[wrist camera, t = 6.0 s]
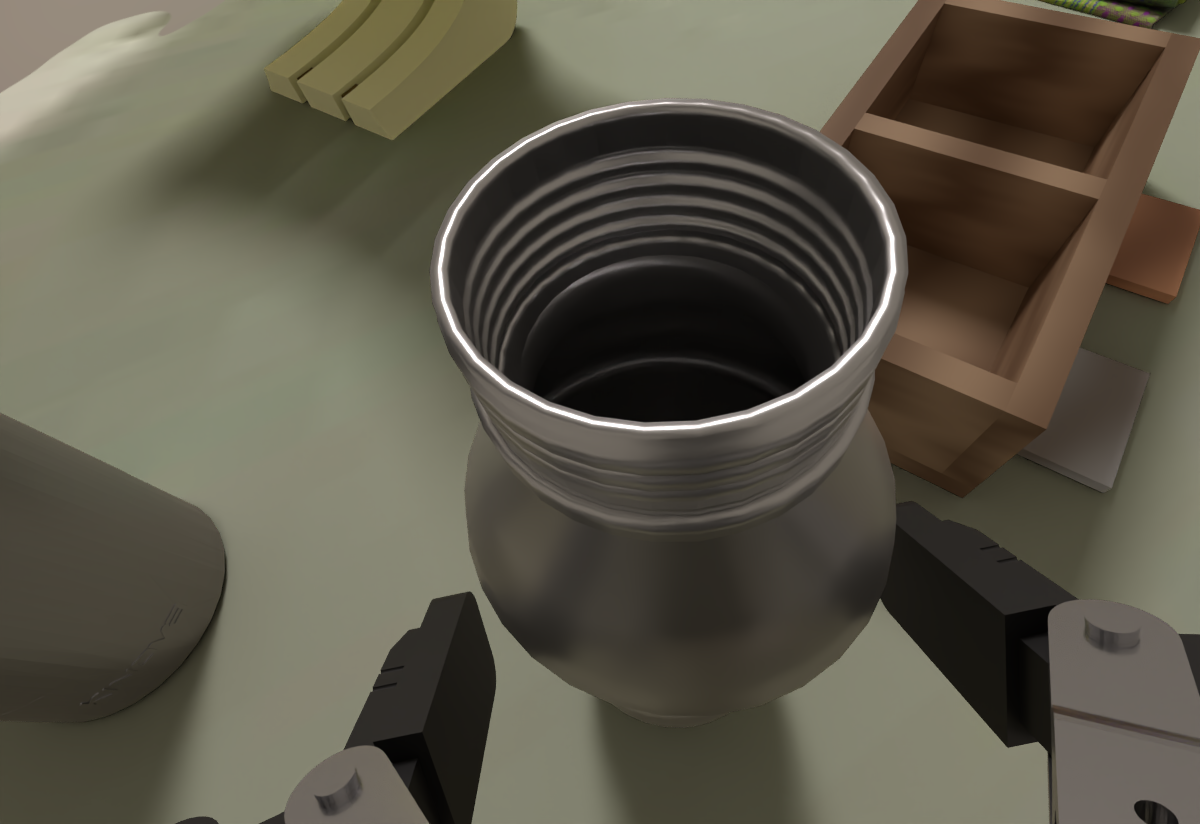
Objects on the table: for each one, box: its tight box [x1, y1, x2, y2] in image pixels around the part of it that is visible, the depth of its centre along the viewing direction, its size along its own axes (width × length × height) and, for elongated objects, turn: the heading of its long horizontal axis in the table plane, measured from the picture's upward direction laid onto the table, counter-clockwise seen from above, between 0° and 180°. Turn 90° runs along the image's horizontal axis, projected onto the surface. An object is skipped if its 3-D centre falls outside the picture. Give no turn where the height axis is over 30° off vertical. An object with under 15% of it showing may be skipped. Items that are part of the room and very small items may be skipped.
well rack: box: [820, 0, 1200, 498], centre depth 26 cm, size 16×23×6 cm
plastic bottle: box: [430, 98, 908, 728], centre depth 13 cm, size 6×7×20 cm
